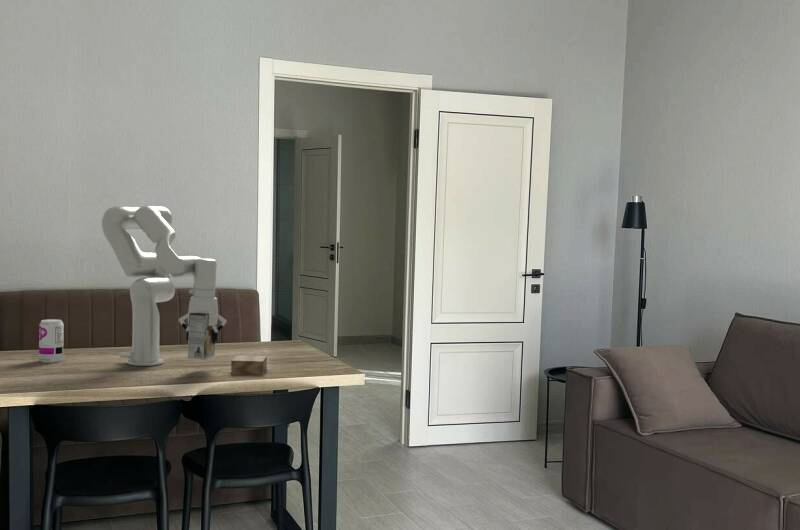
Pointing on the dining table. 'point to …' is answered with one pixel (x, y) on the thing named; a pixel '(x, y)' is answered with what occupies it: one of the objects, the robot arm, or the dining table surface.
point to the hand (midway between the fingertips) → (201, 342)
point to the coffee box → (200, 337)
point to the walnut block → (248, 364)
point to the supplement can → (51, 340)
